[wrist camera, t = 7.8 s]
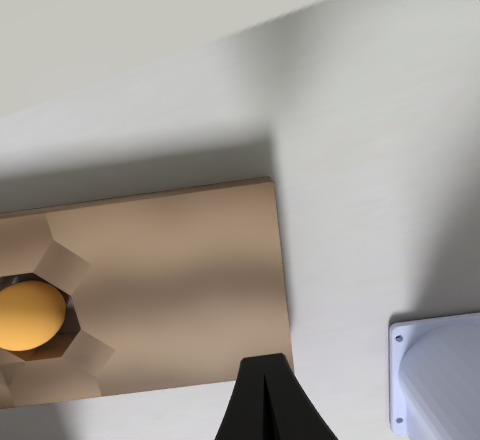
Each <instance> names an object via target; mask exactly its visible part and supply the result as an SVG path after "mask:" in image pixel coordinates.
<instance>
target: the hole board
mask: <svg viewBox="0 0 480 440" xmlns="http://www.w3.org/2000/svg"><path fill="white" fill-rule="evenodd" d="M32 272H33V273H34V274H36V275H38V276H39V277H41V278H43V279H44V280H46V281H47V282H49V283H51V284H52V285H54V286H56V287H57V288H59V289H60V290H62V291H64V292H65V293H67V294H69V295H70V296H71V298H72V302H73V305H74V308H75V311H76V314H77V318H78V321H79V324H80V327H81V330H80V331H79V332H76V333H68V334H60V335H54V336H53V337H52V338H51V339H50V340H48V341H47V342H45V343H44V344H42V345H40V346H38V347H35V348H32V349H29V350H23V351H11V350H6V349H3V348H1V347H0V409H4V408H12V407H21V406H29V405H37V404H45V403H54V402H62V401H70V400H78V399H86V398H95V397H103V396H111V395H119V394H127V393H136V392H144V391H152V390H160V389H168V388H177V387H185V386H193V385H201V384H210V383H218V382H226V381H234V380H236V379H237V376H238V371H239V367H240V361H241V360H242V359H243V358H245V357H253V356H260V355H268V354H275V353H283V354H284V355H285V356H286V359H287V361H288V363H289V365H290V367H291V369H292V371H293V373H294V365H293V356H292V347H291V338H290V329H289V319H288V310H287V301H286V292H285V283H284V273H283V264H282V255H281V246H280V236H279V227H278V218H277V209H276V200H275V190H274V182H273V181H272V179H271V178H270V177H269V176H268V177H261V178H254V179H247V180H239V181H232V182H225V183H218V184H210V185H203V186H196V187H189V188H181V189H174V190H167V191H160V192H153V193H145V194H138V195H131V196H124V197H116V198H109V199H102V200H95V201H87V202H80V203H73V204H66V205H59V206H51V207H44V208H37V209H30V210H22V211H15V212H8V213H1V214H0V291H2V290H3V289H5V288H6V287H8V286H10V284H11V282H12V281H13V279H14V278H15V276H16V275H17V274H25V273H32Z"/></svg>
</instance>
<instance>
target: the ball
mask: <svg viewBox="0 0 480 440" xmlns="http://www.w3.org/2000/svg"><path fill="white" fill-rule="evenodd" d="M65 315H66V304H65V300H64V298H63V296H62V294H61V293H60V292H59V291H58V290H57V289H56V288H55V287H53V286H52V285H50V284H48V283H45V282H41V281H22V282H18V283H15V284H13V285H10V286H8V287H6V288H5V289H3V290H2V291H0V347H1V348H3V349H6V350H11V351H23V350H29V349H32V348H35V347H38V346H40V345H42V344H44V343H45V342H47V341H48V340H50V339H51V338H52V337H53V336H54V335H55V334H56V333H57V332H58V330H59V329H60V327H61V326H62V324H63V322H64V319H65Z"/></svg>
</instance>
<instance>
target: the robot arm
mask: <svg viewBox="0 0 480 440" xmlns="http://www.w3.org/2000/svg"><path fill="white" fill-rule="evenodd" d="M399 335H400V337H399V338H396V337H397V336H399ZM389 343H390V424H391V430H392V432H393V434H394V435H396V436H404V435H408V437H409V438H410V440H480V312H479V313H471V314H463V315H455V316H447V317H439V318H431V319H423V320H415V321H407V322H399V323H394V324H393V325H391V327H390V329H389ZM215 440H338V439H337V437H336V436H335V435H334V433H333V432H332V431H331V429H330V428H329V427H328V425H327V424H326V423H325V421H324V420H323V419H322V417H321V416H320V414H319V413H318V412H317V410H316V409H315V407H314V406H313V404H312V403H311V401H310V400H309V398H308V397H307V395H306V394H305V392H304V390H303V389H302V387H301V386H300V384H299V382H298V380H297V379H296V377H295V375H294V373H293V371H292V369H291V367H290V365H289V363H288V361H287V359H286V356H285V355H284V354H283V353H275V354H268V355H260V356H253V357H245V358H243V359H242V360H241V361H240V367H239V371H238V376H237V379H236V383H235V386H234V389H233V393H232V396H231V399H230V401H229V404H228V407H227V410H226V413H225V415H224V418H223V421H222V423H221V425H220V428H219V430H218V433H217V435H216V437H215Z"/></svg>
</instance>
